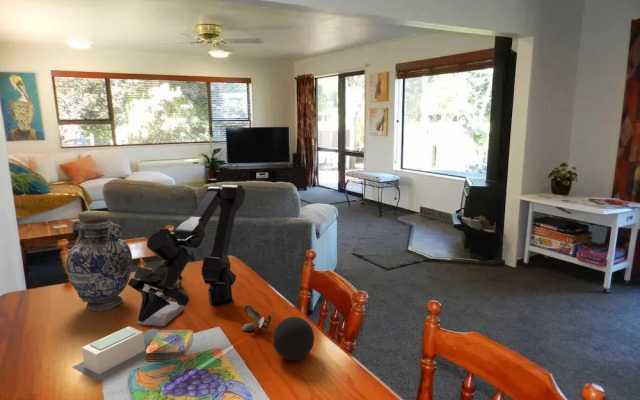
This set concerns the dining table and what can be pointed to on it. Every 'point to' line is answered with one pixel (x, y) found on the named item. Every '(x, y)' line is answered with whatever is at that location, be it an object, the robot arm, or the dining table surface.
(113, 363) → the tall block
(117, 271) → the decorative vase
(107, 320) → the dining table surface
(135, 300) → the dining table surface
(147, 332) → the mat
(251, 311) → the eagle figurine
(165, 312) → the stone block
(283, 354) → the speaker
